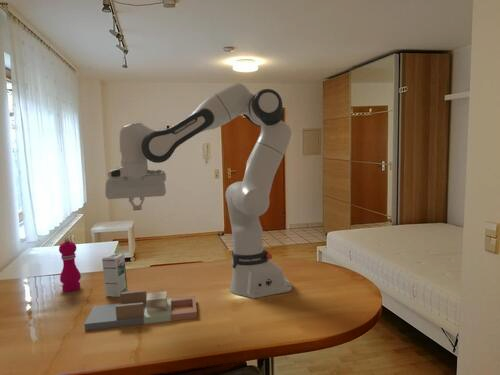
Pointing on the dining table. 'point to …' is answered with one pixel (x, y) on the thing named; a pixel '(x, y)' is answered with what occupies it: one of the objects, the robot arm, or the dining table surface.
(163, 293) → the birch block
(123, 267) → the syrup box
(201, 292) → the dining table surface
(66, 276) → the pepper mill
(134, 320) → the board
